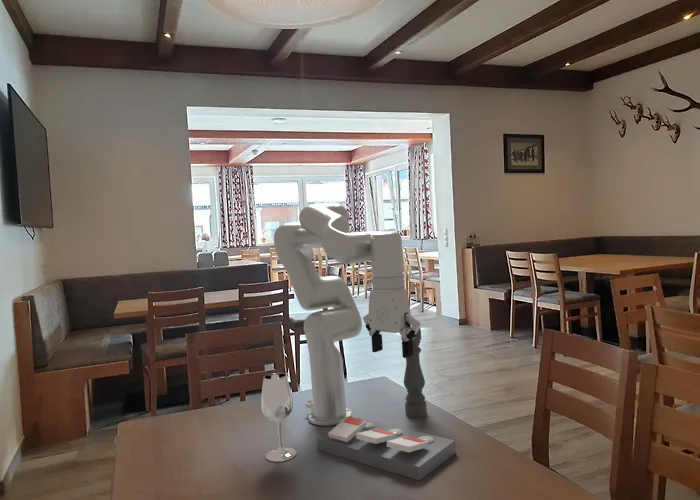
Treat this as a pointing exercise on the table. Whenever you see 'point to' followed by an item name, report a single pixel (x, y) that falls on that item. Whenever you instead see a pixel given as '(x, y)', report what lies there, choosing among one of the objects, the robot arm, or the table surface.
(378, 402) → the table surface
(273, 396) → the wineglass
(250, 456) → the table surface
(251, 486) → the table surface
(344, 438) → the rocker
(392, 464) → the power strip
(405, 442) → the rocker
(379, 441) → the rocker
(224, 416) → the table surface
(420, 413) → the candle holder
